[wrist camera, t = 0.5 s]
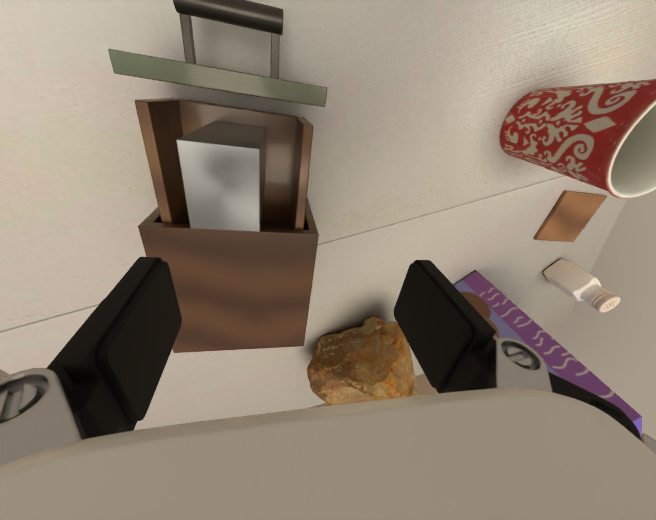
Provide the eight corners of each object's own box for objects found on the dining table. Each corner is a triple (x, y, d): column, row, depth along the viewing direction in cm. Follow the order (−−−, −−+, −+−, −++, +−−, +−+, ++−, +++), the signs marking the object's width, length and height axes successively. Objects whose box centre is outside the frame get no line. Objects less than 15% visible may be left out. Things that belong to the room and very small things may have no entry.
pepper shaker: (547, 281, 48) (600, 317, 40) (540, 271, 46) (594, 307, 38) (567, 267, 47) (625, 302, 39) (561, 256, 45) (621, 290, 37)
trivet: (564, 190, 37) (567, 191, 37) (604, 195, 39) (607, 196, 39) (533, 238, 41) (536, 240, 41) (570, 240, 43) (573, 242, 43)
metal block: (215, 120, 23) (175, 139, 14) (265, 127, 24) (259, 148, 15) (220, 180, 26) (190, 228, 17) (265, 183, 27) (259, 231, 18)
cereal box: (450, 286, 44) (592, 441, 25) (475, 269, 43) (644, 419, 23) (482, 329, 53) (605, 468, 34) (503, 316, 52) (643, 453, 32)
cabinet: (176, 188, 28) (137, 225, 20) (307, 198, 31) (318, 234, 23) (195, 296, 36) (173, 352, 28) (297, 295, 39) (303, 346, 31)
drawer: (145, -8, 19) (81, -58, 13) (318, 31, 22) (336, 7, 16) (184, 219, 29) (159, 255, 23) (301, 225, 32) (307, 259, 26)
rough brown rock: (301, 301, 41) (301, 394, 29) (401, 292, 42) (442, 379, 30) (311, 378, 55) (314, 463, 43) (386, 370, 56) (411, 451, 44)
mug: (478, 156, 32) (585, 190, 21) (521, 69, 27) (688, 54, 16) (550, 174, 35) (677, 211, 24) (600, 98, 31) (783, 102, 20)
